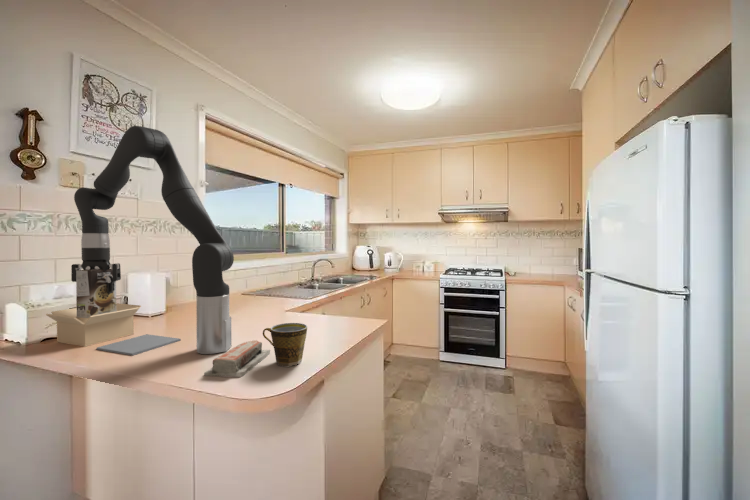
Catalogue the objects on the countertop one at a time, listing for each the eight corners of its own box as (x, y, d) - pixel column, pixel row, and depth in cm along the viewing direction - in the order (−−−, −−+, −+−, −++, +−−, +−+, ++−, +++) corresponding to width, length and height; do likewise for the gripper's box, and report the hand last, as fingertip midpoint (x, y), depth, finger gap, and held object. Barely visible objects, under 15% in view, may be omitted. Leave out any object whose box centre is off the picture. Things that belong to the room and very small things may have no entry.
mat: (180, 340, 112) (180, 338, 112) (132, 355, 97) (132, 353, 97) (146, 335, 118) (146, 334, 118) (96, 349, 102) (96, 347, 102)
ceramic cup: (312, 357, 96) (312, 323, 96) (298, 370, 87) (298, 332, 86) (271, 354, 99) (271, 321, 99) (253, 366, 89) (253, 330, 89)
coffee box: (91, 318, 110) (90, 270, 109) (75, 317, 111) (74, 269, 111) (117, 312, 118) (116, 268, 118) (103, 312, 120) (102, 267, 119)
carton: (147, 332, 121) (146, 305, 121) (80, 350, 102) (80, 318, 101) (110, 327, 128) (109, 302, 128) (40, 343, 108) (40, 313, 108)
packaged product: (241, 360, 82) (203, 358, 83) (241, 379, 82) (203, 377, 83) (270, 339, 100) (239, 338, 101) (270, 354, 100) (239, 353, 101)
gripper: (125, 246, 119) (126, 291, 119) (80, 246, 117) (81, 292, 117) (111, 246, 112) (112, 294, 112) (64, 246, 109) (65, 296, 110)
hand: (96, 293), depth 115 cm, fingers closed on coffee box, 7 cm apart
